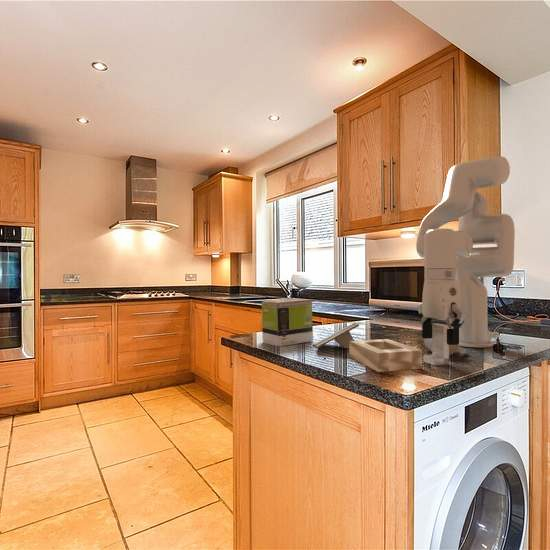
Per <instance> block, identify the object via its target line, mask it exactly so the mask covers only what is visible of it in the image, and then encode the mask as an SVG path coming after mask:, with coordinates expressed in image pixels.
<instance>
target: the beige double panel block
mask: <svg viewBox="0 0 550 550" xmlns="http://www.w3.org/2000/svg"><path fill="white" fill-rule="evenodd" d="M360 324H361V322H353V323H351V324H349V325H347V326H345V327H343V328H341V329H340V330H338V331H336V332H334V333H332V334H330V335H329V336H326V337H325V338H323V339H321V340H320V341H318V342H316V343H314V344H313V345H314V346H315V347H316V348H317V349H319V348H321V347H323V346H324V345H326V344H329V343H331V341H335V342H336V343H337V344H338V345H340V346H341V347H342V348H343V349H345V350H347V349H349V341H355V340H354V338H353V336H352V334H351V332H350V331H352V330H354V329H356V328H358V327H360Z"/></svg>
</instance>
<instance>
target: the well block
mask: <svg viewBox="0 0 550 550" xmlns="http://www.w3.org/2000/svg"><path fill="white" fill-rule="evenodd" d="M348 349H349V351H348V353H349V355H348V356H349V358H350V359H352V360H355V361H356V362H358V363H359V364H362V365H364V366H366V367H367V368H370V369H372V370H374V371H376V372H378V373H380V372H381V373H383V372H394V371H395V372H396V371H407V370H418V369H419V370H422V369H423V350H422V349H419V348H416V347H412V346H409V345H407V344H404V343H401V342H398V341H394V340H392V339H389V338H383V339H382V338H379V339H365V340H363V339H362V340H354V341H349V347H348Z"/></svg>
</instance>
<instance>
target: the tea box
mask: <svg viewBox="0 0 550 550" xmlns="http://www.w3.org/2000/svg"><path fill="white" fill-rule="evenodd" d="M313 326H314V325H313V301H312V299H305V298H283V299H272V300H262V301H261V329H262V330H261V331H262V333H261V334H262V343H264V344H267V345H271V346H273V347H274V346H275V347H284V346H285V347H286V346H290V345H297V344H302V343H310V342H313V341H314V330H313V329H314V327H313Z"/></svg>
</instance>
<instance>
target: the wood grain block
mask: <svg viewBox="0 0 550 550" xmlns="http://www.w3.org/2000/svg"><path fill="white" fill-rule="evenodd" d="M431 324H432V350H431V352H432V353H431V354H425V355H423V354H422V363H423V362H424V363H427V364H429V365H432V366H445V365H450V355H449V345H448V344H447V329H449V327H448V325H447V324H441V323H438V322H437V323H431Z"/></svg>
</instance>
